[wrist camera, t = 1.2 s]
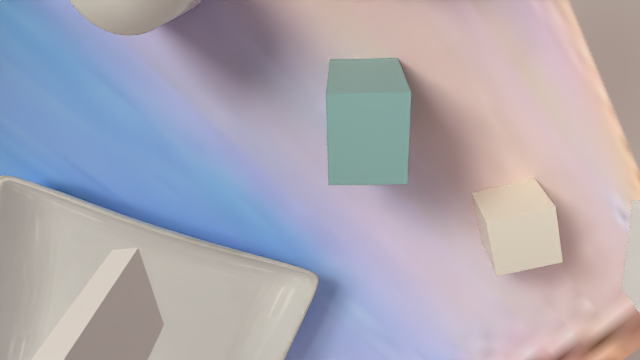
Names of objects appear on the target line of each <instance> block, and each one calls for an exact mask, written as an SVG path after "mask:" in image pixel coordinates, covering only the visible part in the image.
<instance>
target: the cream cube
mask: <svg viewBox="0 0 640 360" xmlns="http://www.w3.org/2000/svg"><path fill="white" fill-rule="evenodd" d="M472 195H473V200H474V205H475V210H476V215H477V220H478V225H479V230H480V235H481V240H482V244H483V246H484V248H485V251H486V253H487V255H488V257H489V260H490V262H491V264H492V267H493V269H494V271H495V274H496V276H500V275H505V274H510V273H514V272H519V271H524V270H529V269H533V268H538V267H543V266H548V265H552V264H557V263H562V262H563V260H562V252H561V244H560V236H559V229H558V221H557V213H556V206H555V205H554V204H553V203H552V201H551V200H550V199H549V197H548V196H547V195H546V193H545V192H544V191H543V189H542V188H541V187H540V185H539V184H538V183H537V181H536V180H535V179H534V178H531V179H527V180H523V181H518V182H514V183H510V184H506V185H502V186H497V187H493V188H489V189H485V190H481V191H476V192H472Z"/></svg>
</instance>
